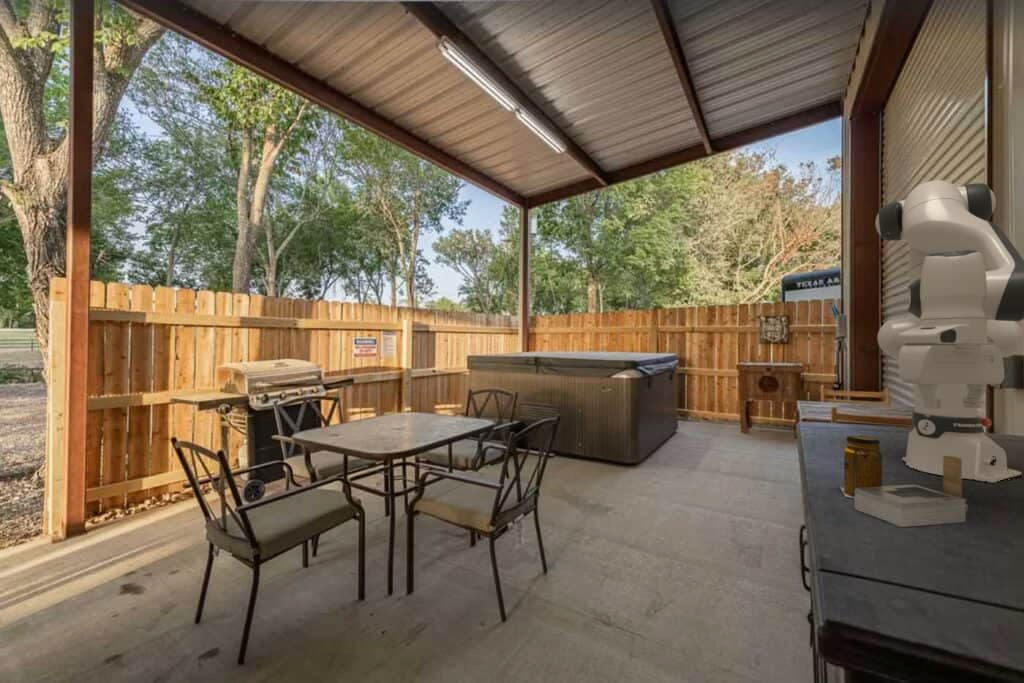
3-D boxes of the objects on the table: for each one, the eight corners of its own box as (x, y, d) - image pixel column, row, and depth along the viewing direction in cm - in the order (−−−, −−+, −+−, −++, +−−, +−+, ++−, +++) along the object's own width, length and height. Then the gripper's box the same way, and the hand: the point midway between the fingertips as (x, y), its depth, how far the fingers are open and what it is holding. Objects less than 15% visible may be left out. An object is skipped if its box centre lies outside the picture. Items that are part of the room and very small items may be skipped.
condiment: (839, 487, 92) (839, 432, 92) (890, 495, 88) (890, 437, 88) (845, 497, 86) (845, 438, 86) (900, 506, 82) (900, 444, 82)
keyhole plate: (914, 504, 82) (914, 484, 82) (965, 521, 74) (965, 499, 74) (854, 509, 80) (854, 488, 80) (901, 527, 72) (901, 503, 72)
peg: (947, 506, 82) (947, 454, 82) (973, 514, 78) (973, 460, 78) (931, 507, 81) (931, 455, 81) (957, 515, 77) (957, 460, 77)
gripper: (974, 336, 85) (974, 405, 85) (891, 334, 81) (891, 406, 81) (1016, 335, 79) (1017, 409, 78) (928, 333, 75) (929, 411, 75)
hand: (952, 408), depth 80 cm, fingers open, 8 cm apart
